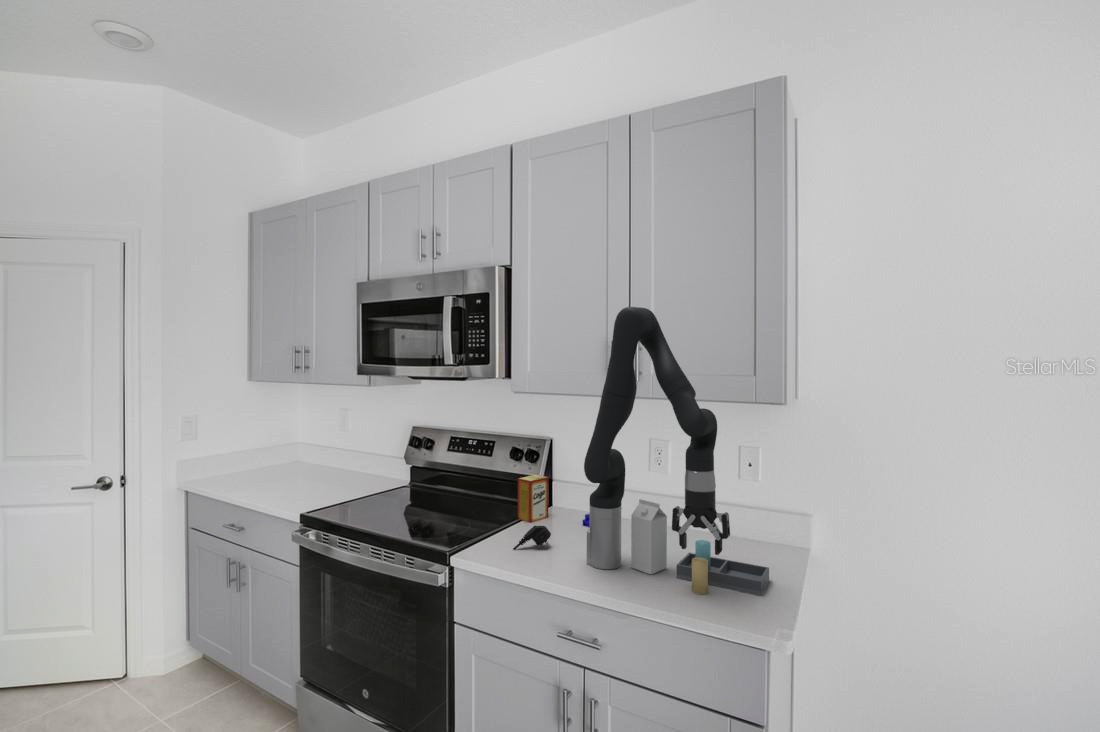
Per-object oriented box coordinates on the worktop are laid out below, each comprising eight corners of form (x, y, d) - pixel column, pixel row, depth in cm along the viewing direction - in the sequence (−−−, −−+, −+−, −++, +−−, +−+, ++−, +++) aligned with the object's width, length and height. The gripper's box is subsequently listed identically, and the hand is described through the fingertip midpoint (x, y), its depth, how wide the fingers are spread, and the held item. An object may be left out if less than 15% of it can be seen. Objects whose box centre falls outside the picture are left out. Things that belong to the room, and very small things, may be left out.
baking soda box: (530, 524, 197) (530, 480, 197) (517, 520, 202) (517, 477, 201) (548, 519, 204) (548, 476, 204) (535, 515, 208) (536, 473, 208)
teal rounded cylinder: (693, 572, 149) (693, 543, 149) (697, 567, 153) (697, 539, 153) (708, 575, 147) (708, 545, 147) (712, 570, 151) (712, 541, 151)
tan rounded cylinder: (689, 592, 139) (689, 560, 139) (694, 586, 142) (694, 556, 142) (705, 595, 137) (705, 563, 137) (709, 590, 140) (709, 559, 140)
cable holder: (582, 526, 195) (582, 515, 195) (588, 524, 197) (588, 513, 197) (601, 531, 190) (601, 519, 190) (606, 528, 192) (606, 517, 192)
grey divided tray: (676, 577, 148) (676, 564, 148) (688, 564, 158) (688, 552, 158) (761, 595, 137) (761, 581, 137) (769, 580, 146) (769, 567, 146)
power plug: (510, 544, 172) (539, 518, 175) (524, 562, 173) (553, 536, 176) (513, 550, 167) (543, 523, 169) (528, 568, 168) (558, 541, 170)
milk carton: (646, 562, 160) (647, 497, 160) (666, 569, 154) (667, 501, 154) (631, 568, 155) (631, 501, 155) (651, 575, 150) (651, 506, 150)
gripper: (667, 487, 140) (668, 550, 140) (724, 493, 132) (725, 560, 132) (677, 482, 146) (678, 542, 146) (732, 487, 139) (732, 551, 138)
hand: (700, 551), depth 139 cm, fingers open, 8 cm apart
